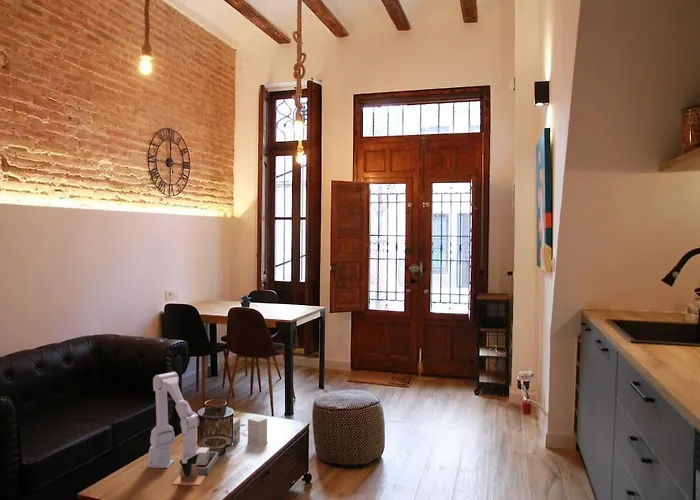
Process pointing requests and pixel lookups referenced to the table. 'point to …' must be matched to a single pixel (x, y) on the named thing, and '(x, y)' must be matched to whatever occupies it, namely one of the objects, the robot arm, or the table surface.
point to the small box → (257, 430)
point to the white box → (203, 456)
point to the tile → (197, 482)
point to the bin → (206, 470)
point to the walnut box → (192, 476)
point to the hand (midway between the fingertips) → (189, 472)
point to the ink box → (236, 430)
